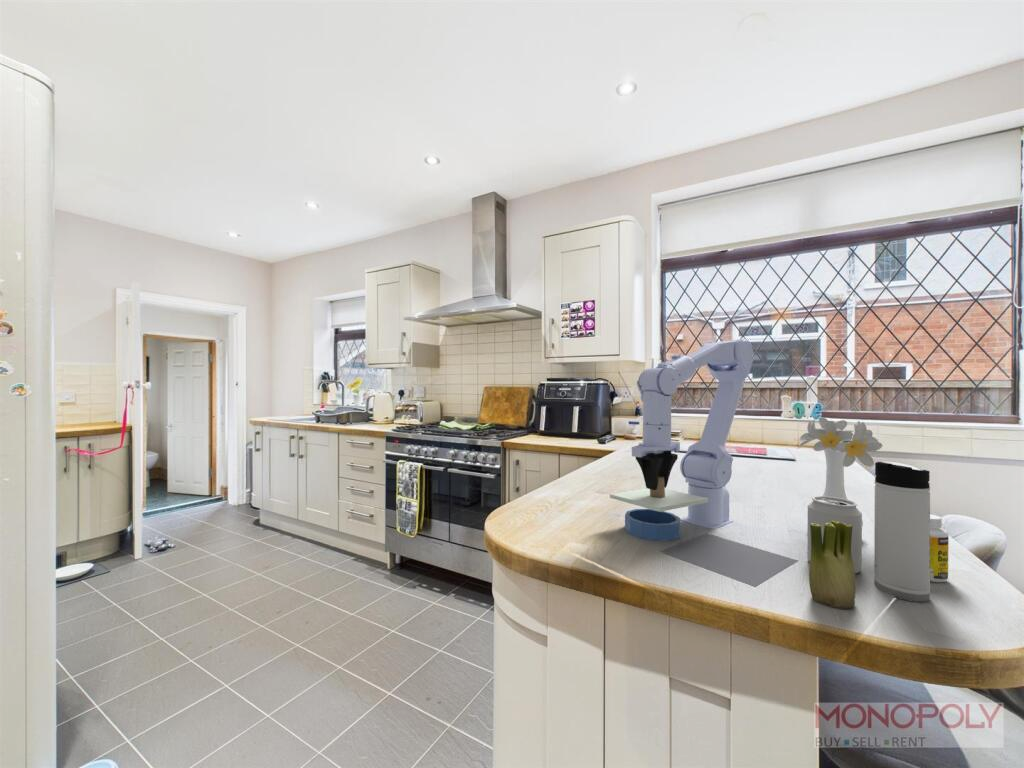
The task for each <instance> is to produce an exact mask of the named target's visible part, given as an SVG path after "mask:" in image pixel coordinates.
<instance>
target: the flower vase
mask: <svg viewBox="0 0 1024 768" xmlns="http://www.w3.org/2000/svg"><path fill="white" fill-rule="evenodd" d="M815 422H816V421H815V418H814V419H813V420H809V421H808V424H807V428H806V429H807V432H805V433H803V434H802V435H800V438H799V442H801V443H800V444H798V447H797V448H796V449H801V447H803V446H804V445H807V444H808V443H810V442H812V441H814V440H819V441H817V442H816V443H815V444H814V445H813V447H812V448H813V450H814V452H815V451H816V452H822V451H823V452H824V455H825V462H826V463H825V464H826V475H825V477H826V478H825V488H824V492H823V495H822V496H827V497H836V498H842V499H846V500H849V499H848V496H847V492H846V488H845V487H846V486H845V468H848V467H850V466H852V465H853V464H855V461H856V459H857V460H858V461H859V462H860V463H861V464H862V465H864V466H866V467H873V466H875V461H874V458H873V457H872V456H871V454H873V455H875V456H876V458H879V457H880V455H879V453H878V451H879V450H880V449H882V448H883V443H881V442H879V440H878V439H877V438H876V437H874V436H873V430H871V429H868V428H867V426H866V424H865V422H864V421H862V422H860V421H859V420H857V423H854V424H853V428H854V429H848V430H845V429H846V427H847V426H848V422H847V421H846V420H844V419H843V420H842V419H841V420H838V421H836V422H834V421H833V420H828V419H827V418H825V417H823V416H821V417H818V423H819V426H820V427H816V423H815ZM853 432H854V433H853ZM869 453H871V454H869ZM863 526H864V521H863V519H862V527H863Z"/></svg>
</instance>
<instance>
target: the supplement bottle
mask: <svg viewBox="0 0 1024 768" xmlns="http://www.w3.org/2000/svg"><path fill="white" fill-rule="evenodd" d="M948 580H949V532H948V531H947V530H946V529H944V528H943V522H942V517H941V516H940V515H939V516H938V515H935V514H931V513H930V581H931V582H930V583H945V582H947V581H948Z"/></svg>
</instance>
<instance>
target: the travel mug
mask: <svg viewBox="0 0 1024 768" xmlns="http://www.w3.org/2000/svg"><path fill="white" fill-rule="evenodd" d="M874 475H875V477H874V484H875V485H874V548H873V549H874V555H873V556H874V561H873V563H874V564H873V565H874V567H873V568H874V570H873V572H874V581H873V583H874V586H875V587H876V588H877V589H879V590H881V591H883V592H884V593H887V594H890V595H893V596H894V598H895V599H898V600H903V601H907V602H915V603H916V602H917V603H924V602H928V601H930V599H931V582H930V514H931V492H930V491H931V487H930V480H931V479H930V476H931V475H930V471H929V470H927V469H914V468H913V467H912V466H911V467H910V466H905V465H900V464H893V463H890V462H889V463H888V462H884V461H883V462H882V461H877V462H874Z"/></svg>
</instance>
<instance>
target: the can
mask: <svg viewBox="0 0 1024 768" xmlns="http://www.w3.org/2000/svg"><path fill="white" fill-rule="evenodd" d="M811 499H812V501H811V502H810V503H809V504H807V548H806V549H807V552H806V553H807V555H806V556H807V560H808V561H809V562H810V558H811V530H810V524H811V523H816V524H819V525H820V526H821V534H822V545H823V535H824V526H825V523H831V521H837V522H839V523H840V524H841V523H846V524H849V525H852V526H853V528H852V538H851V556H852V561H853V566H854V571H855V575H856V574H858V573H860V572H862V569H863V562H862V561H863V543H862V542H863V539H862V538H863V535H862V534H863V526H862V520H863V513H862V512H861V511H860V510H859V509H858V508H857V506H858V504H857V502H855V501H853V500H850V499H848V500H846V499H842V498H836V497H827V496H823V495H820V496H819V495H817V496H813V497H812V498H811Z"/></svg>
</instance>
